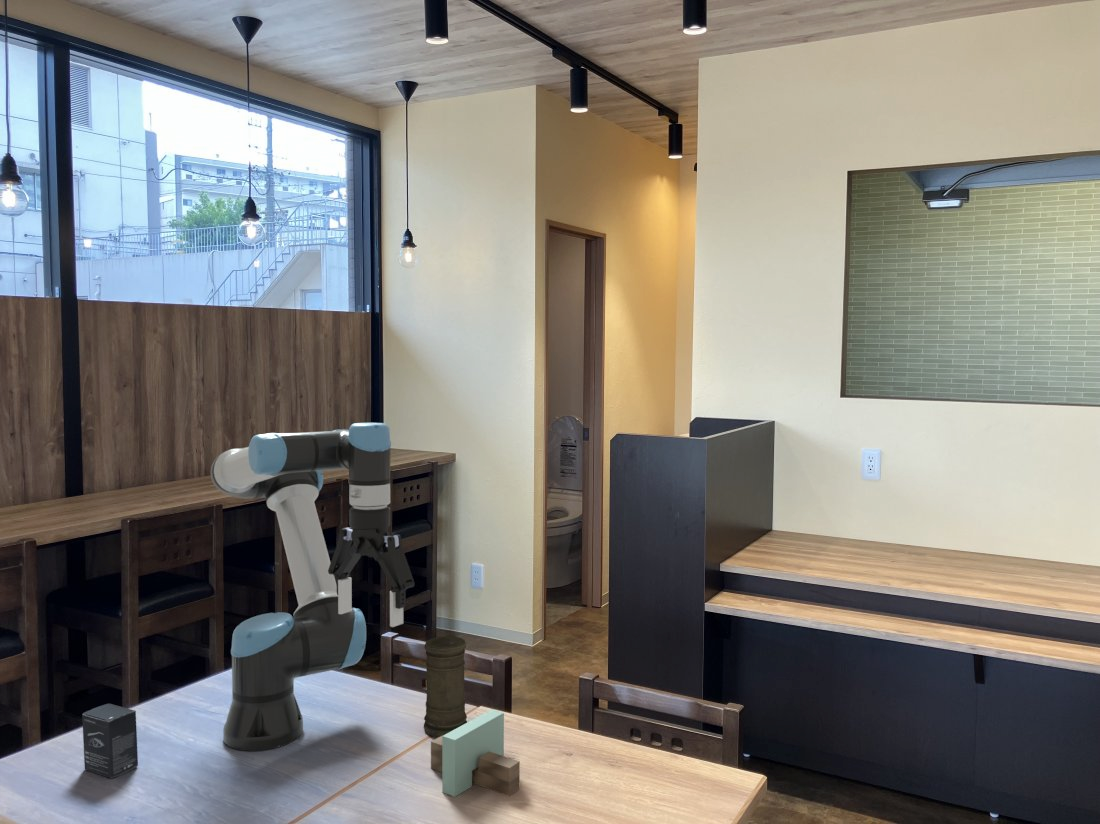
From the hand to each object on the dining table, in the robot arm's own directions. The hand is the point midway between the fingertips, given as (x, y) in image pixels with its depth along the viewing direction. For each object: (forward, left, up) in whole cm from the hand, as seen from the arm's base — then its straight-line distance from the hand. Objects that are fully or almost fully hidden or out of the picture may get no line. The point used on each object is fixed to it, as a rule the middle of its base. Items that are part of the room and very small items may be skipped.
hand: (370, 618), depth 158 cm
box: (-36, -30, -27) cm, 54 cm away
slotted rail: (+21, +5, -27) cm, 34 cm away
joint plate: (+21, +5, -27) cm, 34 cm away
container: (+3, +18, -27) cm, 33 cm away
